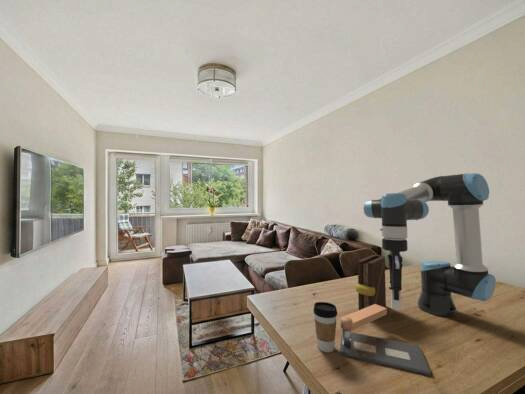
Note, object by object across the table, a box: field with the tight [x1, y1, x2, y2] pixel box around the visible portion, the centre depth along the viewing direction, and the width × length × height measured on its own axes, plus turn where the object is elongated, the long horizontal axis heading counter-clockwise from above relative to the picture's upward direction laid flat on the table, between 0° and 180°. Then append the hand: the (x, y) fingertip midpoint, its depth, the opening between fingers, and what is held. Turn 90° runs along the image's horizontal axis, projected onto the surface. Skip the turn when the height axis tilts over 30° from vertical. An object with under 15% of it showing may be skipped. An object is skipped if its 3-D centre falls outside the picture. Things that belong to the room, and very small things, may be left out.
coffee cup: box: [313, 301, 338, 353], centre depth 84 cm, size 8×8×15 cm
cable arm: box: [339, 304, 388, 331], centre depth 89 cm, size 24×5×3 cm, turn 122°
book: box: [355, 254, 387, 311], centre depth 112 cm, size 22×8×25 cm, turn 134°
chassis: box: [339, 328, 431, 377], centre depth 81 cm, size 26×14×7 cm, turn 67°
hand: (395, 308), depth 78 cm, fingers closed
